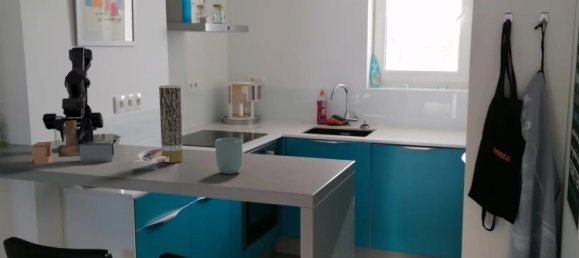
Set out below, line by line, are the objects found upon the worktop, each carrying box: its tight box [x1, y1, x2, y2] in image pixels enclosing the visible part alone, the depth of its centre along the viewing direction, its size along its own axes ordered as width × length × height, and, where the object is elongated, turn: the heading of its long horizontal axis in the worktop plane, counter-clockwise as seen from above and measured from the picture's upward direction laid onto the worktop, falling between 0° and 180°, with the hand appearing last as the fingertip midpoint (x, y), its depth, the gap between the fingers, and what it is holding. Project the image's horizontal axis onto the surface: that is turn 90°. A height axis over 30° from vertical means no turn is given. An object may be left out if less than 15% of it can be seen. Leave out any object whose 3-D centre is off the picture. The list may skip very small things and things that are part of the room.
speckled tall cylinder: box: [158, 84, 184, 164], centre depth 190 cm, size 7×7×25 cm
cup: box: [214, 137, 244, 175], centre depth 173 cm, size 8×8×10 cm
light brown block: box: [30, 141, 53, 166], centre depth 192 cm, size 4×7×6 cm, turn 7°
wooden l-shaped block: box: [57, 120, 80, 158], centre depth 193 cm, size 16×3×12 cm, turn 98°
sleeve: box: [79, 140, 115, 163], centre depth 194 cm, size 10×5×6 cm, turn 98°
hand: (70, 141), depth 191 cm, fingers open, 5 cm apart
